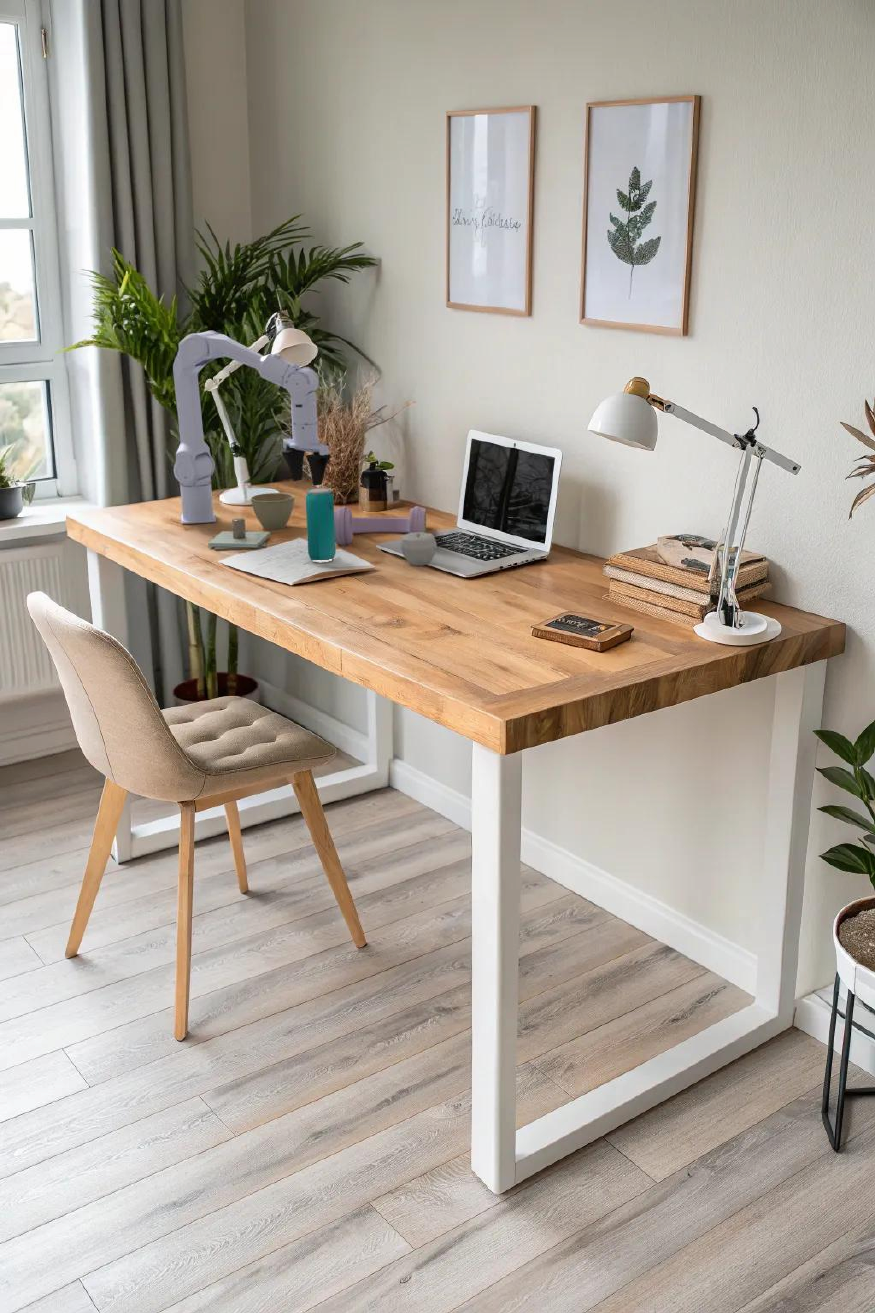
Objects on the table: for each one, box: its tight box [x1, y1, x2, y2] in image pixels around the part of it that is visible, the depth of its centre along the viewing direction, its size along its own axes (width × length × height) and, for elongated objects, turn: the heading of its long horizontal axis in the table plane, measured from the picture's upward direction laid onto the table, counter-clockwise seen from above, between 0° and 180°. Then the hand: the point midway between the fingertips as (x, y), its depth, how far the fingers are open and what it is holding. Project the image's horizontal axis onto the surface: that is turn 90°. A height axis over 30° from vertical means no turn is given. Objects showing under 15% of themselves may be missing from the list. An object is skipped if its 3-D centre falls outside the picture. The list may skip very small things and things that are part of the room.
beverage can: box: [305, 486, 337, 560], centre depth 259 cm, size 6×6×15 cm
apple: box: [399, 532, 438, 567], centre depth 257 cm, size 8×8×7 cm
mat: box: [212, 535, 267, 552], centre depth 277 cm, size 12×11×1 cm
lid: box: [207, 517, 271, 549], centre depth 276 cm, size 11×11×5 cm
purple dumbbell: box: [334, 505, 427, 546], centre depth 279 cm, size 20×10×20 cm
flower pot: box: [250, 492, 295, 530], centre depth 290 cm, size 10×10×7 cm
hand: (307, 482), depth 287 cm, fingers open, 7 cm apart
